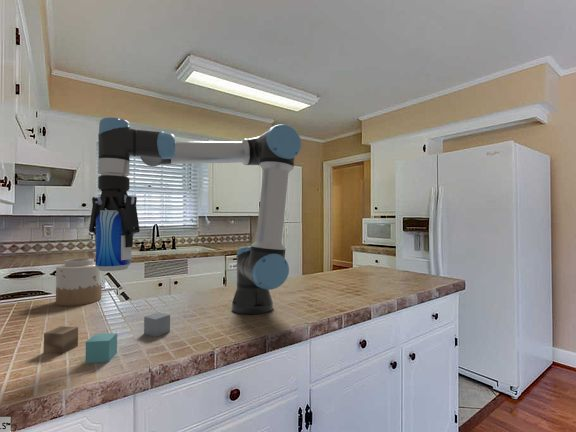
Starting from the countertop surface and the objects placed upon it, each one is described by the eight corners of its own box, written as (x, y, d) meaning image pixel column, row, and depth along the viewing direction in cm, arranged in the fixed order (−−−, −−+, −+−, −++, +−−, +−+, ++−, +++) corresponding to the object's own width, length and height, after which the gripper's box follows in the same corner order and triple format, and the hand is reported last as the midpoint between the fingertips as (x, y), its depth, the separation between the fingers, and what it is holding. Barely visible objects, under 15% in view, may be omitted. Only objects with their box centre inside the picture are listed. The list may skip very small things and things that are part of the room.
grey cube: (170, 331, 93) (170, 314, 93) (155, 337, 89) (155, 319, 89) (158, 328, 95) (158, 312, 95) (144, 333, 91) (144, 316, 91)
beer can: (105, 266, 90) (105, 211, 90) (135, 266, 91) (135, 211, 91) (88, 271, 82) (89, 210, 82) (122, 271, 82) (123, 210, 83)
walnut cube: (77, 346, 82) (78, 327, 82) (62, 354, 77) (62, 333, 77) (60, 345, 83) (60, 326, 83) (43, 353, 78) (43, 333, 78)
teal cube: (117, 353, 78) (117, 332, 78) (109, 362, 73) (109, 340, 73) (95, 354, 77) (95, 334, 77) (85, 363, 72) (85, 341, 72)
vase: (46, 303, 123) (47, 260, 123) (84, 295, 137) (85, 256, 137) (72, 308, 117) (73, 263, 117) (109, 298, 131) (110, 258, 131)
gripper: (154, 176, 86) (154, 258, 86) (98, 179, 94) (97, 255, 93) (132, 172, 79) (132, 262, 79) (73, 176, 87) (72, 258, 86)
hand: (113, 258), depth 86 cm, fingers closed on beer can, 8 cm apart
